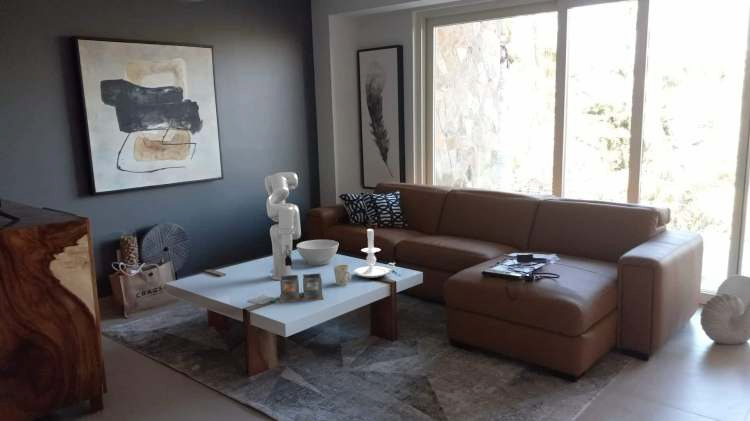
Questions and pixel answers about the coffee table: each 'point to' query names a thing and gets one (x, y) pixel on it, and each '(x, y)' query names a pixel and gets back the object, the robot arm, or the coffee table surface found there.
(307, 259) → the decorative bowl
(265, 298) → the mat
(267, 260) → the coffee table surface
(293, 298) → the dark grey boxy container
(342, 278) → the mug
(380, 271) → the candlestick
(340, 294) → the coffee table surface
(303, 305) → the coffee table surface
